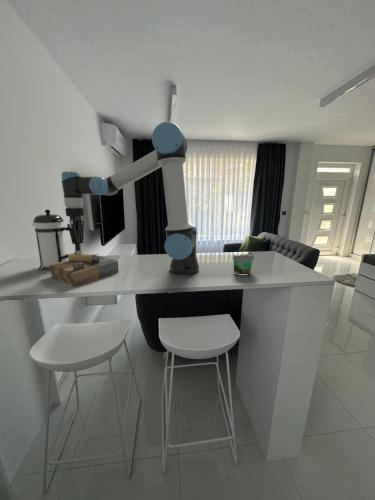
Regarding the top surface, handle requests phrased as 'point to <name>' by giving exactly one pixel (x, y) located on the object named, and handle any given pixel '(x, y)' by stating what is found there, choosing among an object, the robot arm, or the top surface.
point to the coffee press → (50, 239)
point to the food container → (243, 263)
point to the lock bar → (84, 258)
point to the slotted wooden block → (83, 270)
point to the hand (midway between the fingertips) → (79, 256)
